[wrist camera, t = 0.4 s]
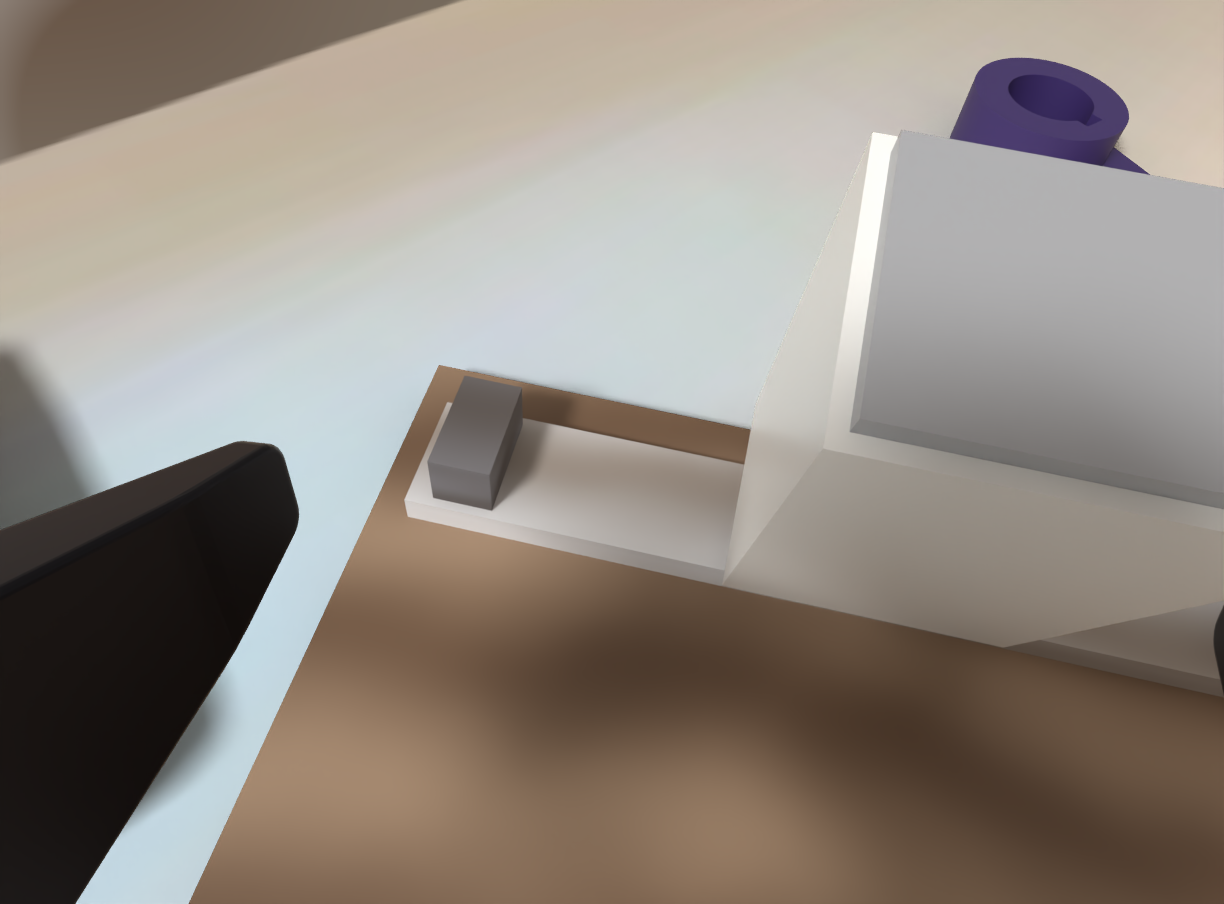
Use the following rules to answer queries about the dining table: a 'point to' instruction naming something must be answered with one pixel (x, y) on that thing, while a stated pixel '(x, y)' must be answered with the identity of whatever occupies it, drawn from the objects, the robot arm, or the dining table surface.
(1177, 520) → the relay module
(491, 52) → the dining table surface
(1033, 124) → the lever
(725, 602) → the board
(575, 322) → the dining table surface
